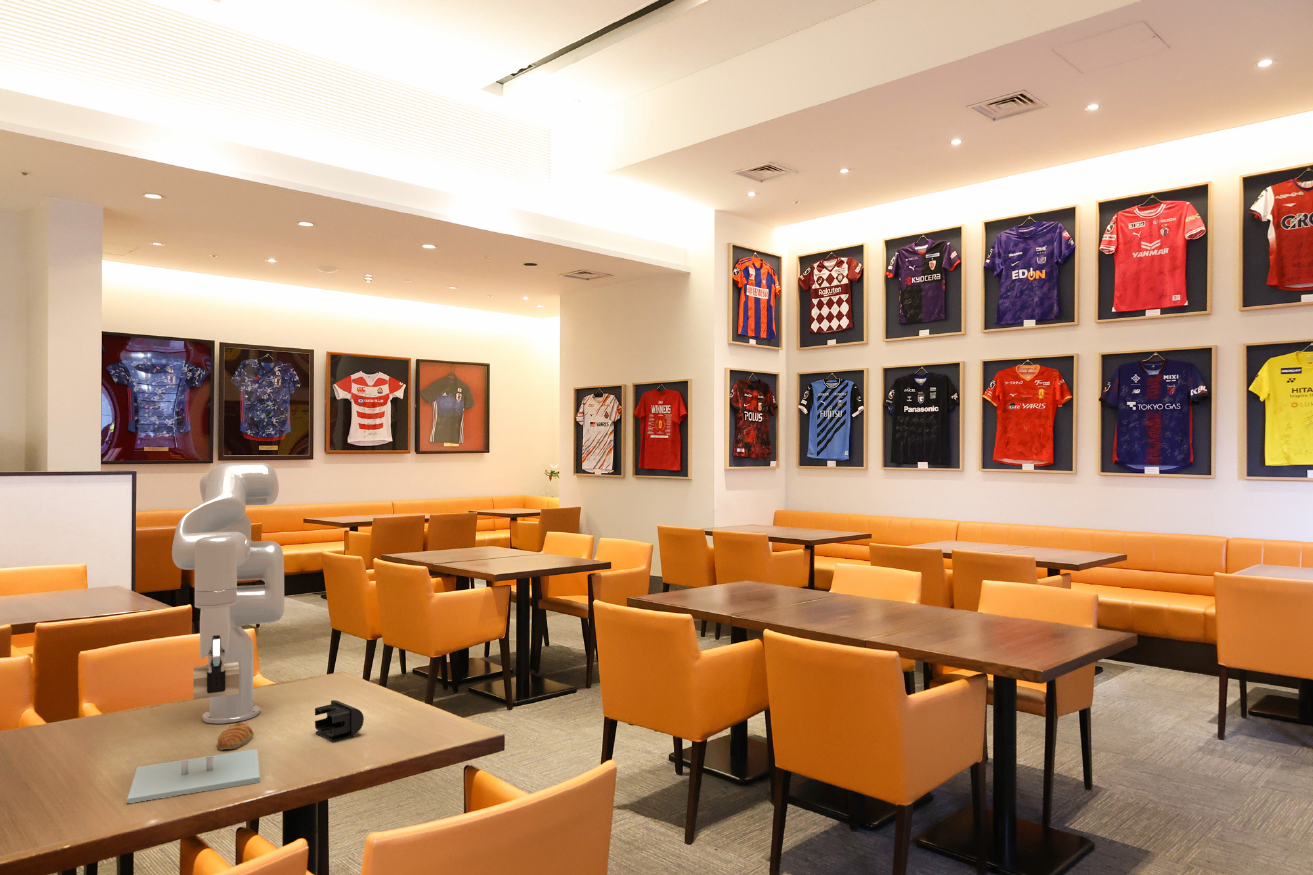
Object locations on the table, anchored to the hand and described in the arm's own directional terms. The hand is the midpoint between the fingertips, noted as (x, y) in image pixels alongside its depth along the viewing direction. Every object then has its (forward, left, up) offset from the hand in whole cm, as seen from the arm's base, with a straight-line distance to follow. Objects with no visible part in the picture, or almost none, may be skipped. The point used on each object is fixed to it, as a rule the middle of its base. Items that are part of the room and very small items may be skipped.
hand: (216, 686), depth 169 cm
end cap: (-14, +25, -18) cm, 34 cm away
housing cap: (0, 0, -1) cm, 1 cm away
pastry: (-19, +3, -18) cm, 27 cm away
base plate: (0, -3, -17) cm, 18 cm away
